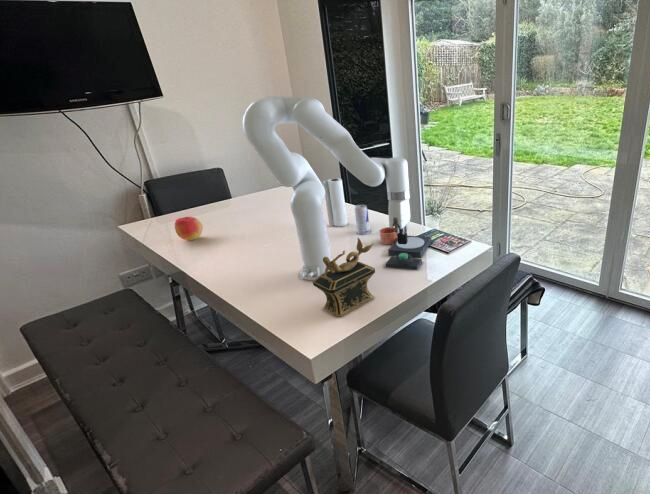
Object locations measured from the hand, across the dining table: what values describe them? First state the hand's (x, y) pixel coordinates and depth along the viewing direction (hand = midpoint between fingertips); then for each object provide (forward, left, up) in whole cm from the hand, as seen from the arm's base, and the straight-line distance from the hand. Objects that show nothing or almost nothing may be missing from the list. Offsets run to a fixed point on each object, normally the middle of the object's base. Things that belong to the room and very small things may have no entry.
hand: (402, 243), depth 147 cm
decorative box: (-27, +8, -9) cm, 29 cm away
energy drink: (+27, +28, -9) cm, 40 cm away
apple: (+7, +98, -9) cm, 99 cm away
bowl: (+19, +13, -9) cm, 25 cm away
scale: (+14, +2, -9) cm, 17 cm away
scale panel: (0, 0, -9) cm, 9 cm away
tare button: (0, 0, -6) cm, 6 cm away
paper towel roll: (+34, +43, -9) cm, 56 cm away
